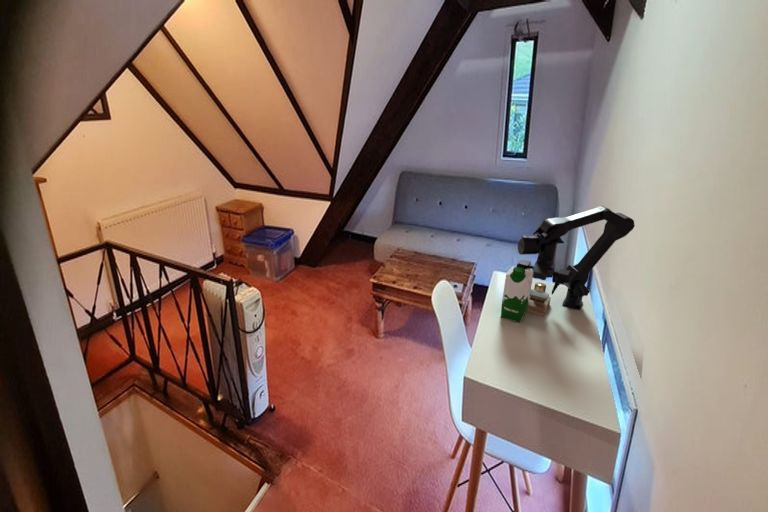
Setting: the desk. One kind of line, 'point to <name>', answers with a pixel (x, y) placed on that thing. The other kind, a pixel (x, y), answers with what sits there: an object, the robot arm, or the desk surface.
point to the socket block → (537, 306)
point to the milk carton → (516, 293)
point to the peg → (539, 290)
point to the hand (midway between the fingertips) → (539, 290)
